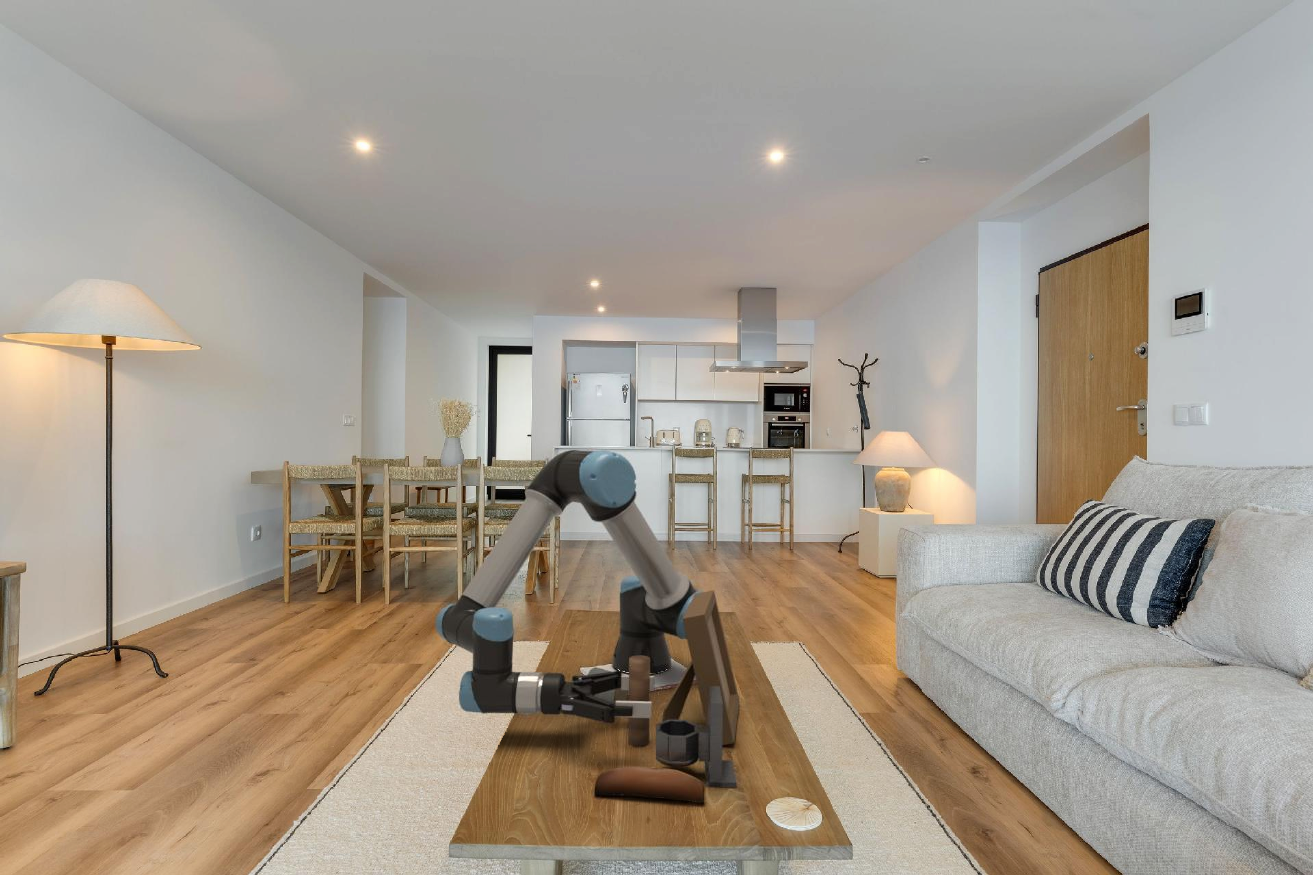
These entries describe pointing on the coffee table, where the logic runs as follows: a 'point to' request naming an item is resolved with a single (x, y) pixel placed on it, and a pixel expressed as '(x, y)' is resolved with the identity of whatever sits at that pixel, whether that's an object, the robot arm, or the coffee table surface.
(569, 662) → the coffee table surface
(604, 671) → the ceramic mug
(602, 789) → the sunglasses case
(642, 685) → the brown wooden dowel
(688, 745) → the bracket
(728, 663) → the photo frame
